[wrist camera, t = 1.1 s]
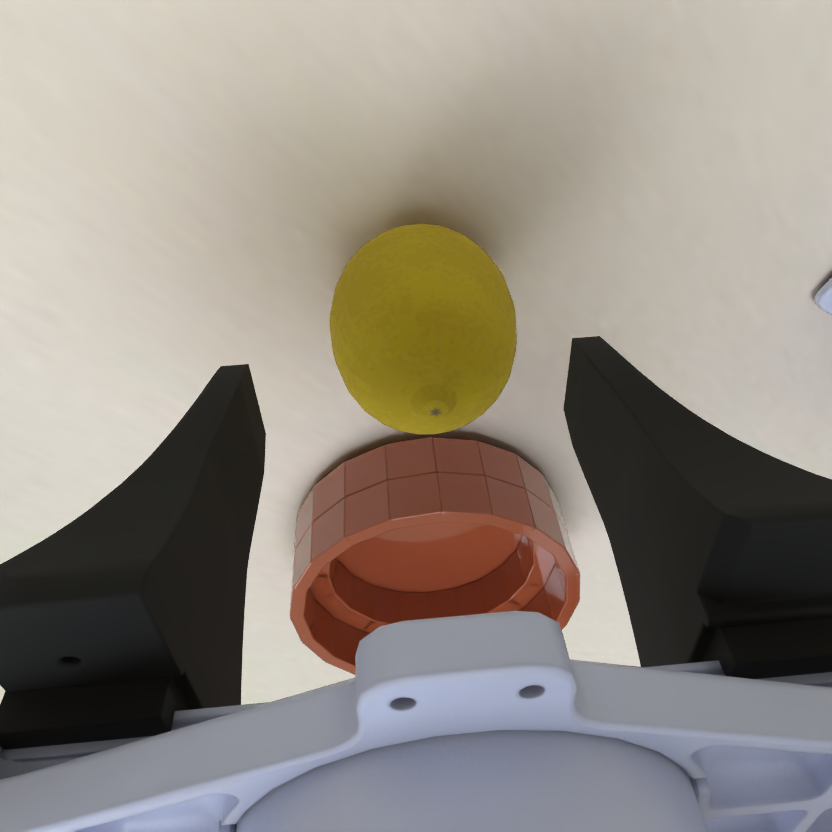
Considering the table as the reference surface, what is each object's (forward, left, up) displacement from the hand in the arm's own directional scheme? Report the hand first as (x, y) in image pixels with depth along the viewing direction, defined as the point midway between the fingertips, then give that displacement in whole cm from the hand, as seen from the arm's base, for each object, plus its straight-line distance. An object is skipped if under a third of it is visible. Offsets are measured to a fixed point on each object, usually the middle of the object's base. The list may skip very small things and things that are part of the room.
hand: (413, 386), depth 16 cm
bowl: (-8, +13, -9) cm, 18 cm away
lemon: (-1, +1, -10) cm, 10 cm away
